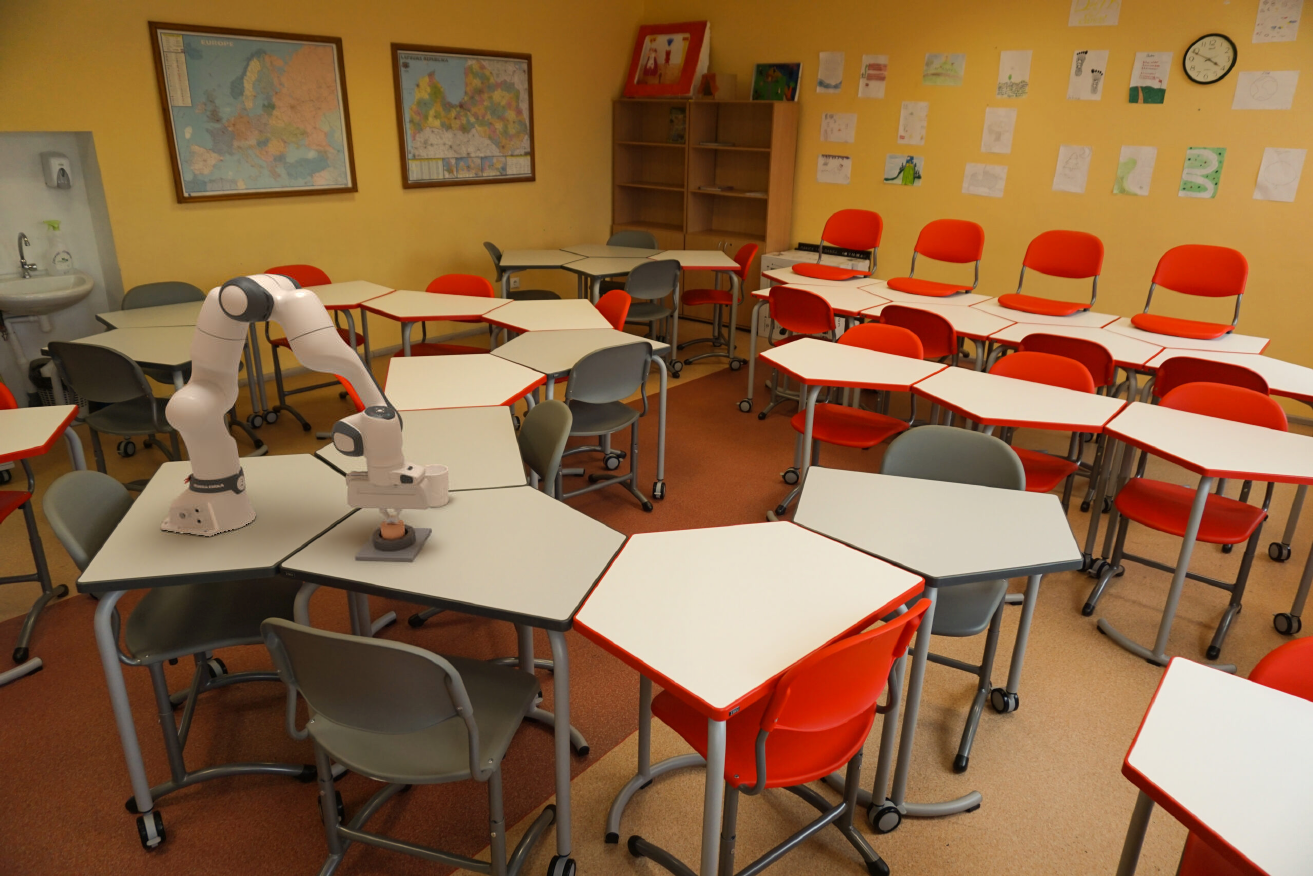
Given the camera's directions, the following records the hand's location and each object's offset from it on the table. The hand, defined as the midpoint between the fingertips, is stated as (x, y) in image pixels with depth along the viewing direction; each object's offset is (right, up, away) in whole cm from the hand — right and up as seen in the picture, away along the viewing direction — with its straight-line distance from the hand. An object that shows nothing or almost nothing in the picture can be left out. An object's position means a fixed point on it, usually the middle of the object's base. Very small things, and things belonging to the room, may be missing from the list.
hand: (392, 523), depth 202 cm
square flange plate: (0, -6, +2) cm, 6 cm away
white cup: (+4, +3, +26) cm, 27 cm away
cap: (0, -5, +2) cm, 5 cm away
